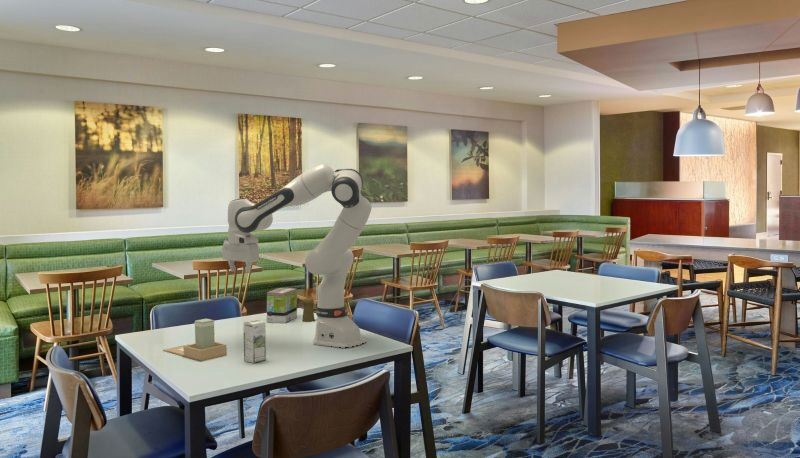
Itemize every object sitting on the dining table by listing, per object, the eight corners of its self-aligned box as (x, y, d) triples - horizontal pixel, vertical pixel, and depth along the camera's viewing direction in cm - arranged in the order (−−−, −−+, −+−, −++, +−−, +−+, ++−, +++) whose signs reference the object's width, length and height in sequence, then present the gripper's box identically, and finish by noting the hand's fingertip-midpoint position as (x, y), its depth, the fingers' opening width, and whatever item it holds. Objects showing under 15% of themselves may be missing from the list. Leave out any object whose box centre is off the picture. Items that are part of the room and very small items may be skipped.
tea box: (286, 323, 292) (285, 292, 291) (266, 322, 294) (265, 292, 293) (297, 317, 306) (297, 287, 306) (278, 316, 308) (278, 287, 308)
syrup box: (256, 357, 230) (255, 319, 229) (266, 360, 226) (265, 321, 225) (243, 361, 226) (242, 321, 225) (253, 363, 222) (252, 323, 221)
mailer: (226, 354, 234) (226, 344, 234) (200, 361, 226) (200, 350, 226) (188, 345, 251) (188, 335, 251) (163, 350, 242) (162, 340, 242)
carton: (215, 354, 234) (214, 320, 233) (203, 356, 230) (202, 322, 229) (207, 352, 237) (206, 318, 237) (195, 354, 233) (194, 320, 233)
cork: (302, 322, 293) (302, 299, 293) (301, 320, 299) (300, 297, 299) (315, 321, 295) (315, 298, 294) (313, 319, 301) (313, 296, 300)
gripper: (217, 238, 257) (218, 271, 258) (248, 239, 244) (249, 274, 245) (230, 237, 262) (231, 269, 263) (261, 238, 249) (262, 272, 250)
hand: (240, 272), depth 254 cm, fingers open, 8 cm apart
